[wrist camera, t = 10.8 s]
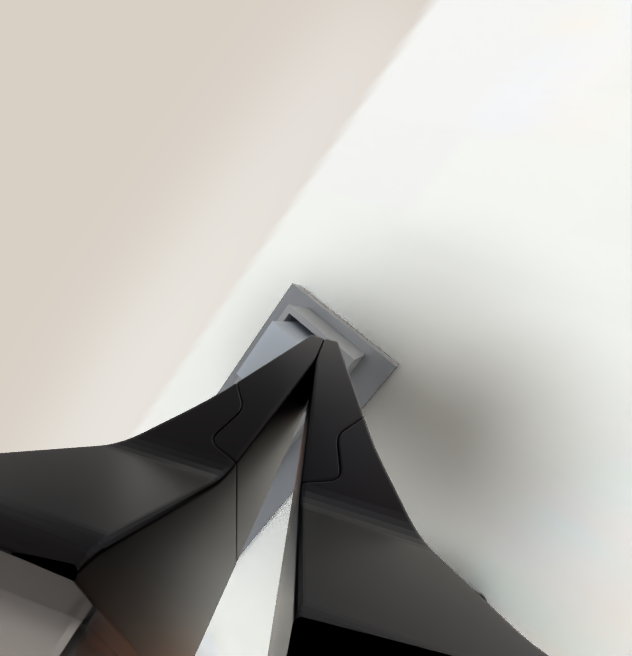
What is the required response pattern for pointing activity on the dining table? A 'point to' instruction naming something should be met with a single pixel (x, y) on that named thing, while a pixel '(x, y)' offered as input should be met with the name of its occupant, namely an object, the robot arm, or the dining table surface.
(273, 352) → the key blue
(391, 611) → the robot arm
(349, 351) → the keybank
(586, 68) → the dining table surface
